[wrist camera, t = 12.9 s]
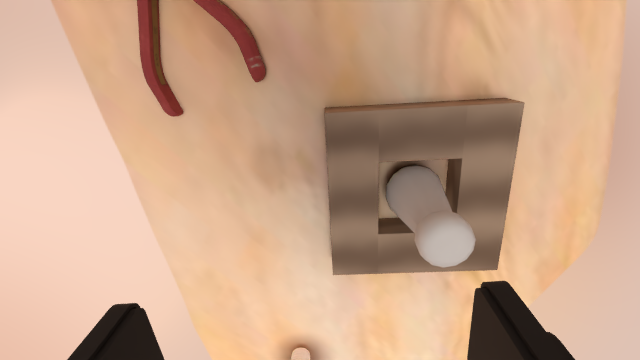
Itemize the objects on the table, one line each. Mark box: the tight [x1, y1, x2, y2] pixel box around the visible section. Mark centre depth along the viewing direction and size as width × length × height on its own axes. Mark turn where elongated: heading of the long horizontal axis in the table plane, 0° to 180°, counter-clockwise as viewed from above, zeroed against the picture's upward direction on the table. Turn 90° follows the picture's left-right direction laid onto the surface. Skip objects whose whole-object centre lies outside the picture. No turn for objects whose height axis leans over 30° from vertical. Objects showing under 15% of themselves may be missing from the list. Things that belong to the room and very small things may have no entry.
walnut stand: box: [325, 98, 524, 275], centre depth 34 cm, size 18×18×4 cm
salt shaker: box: [386, 165, 476, 268], centre depth 30 cm, size 6×6×13 cm
